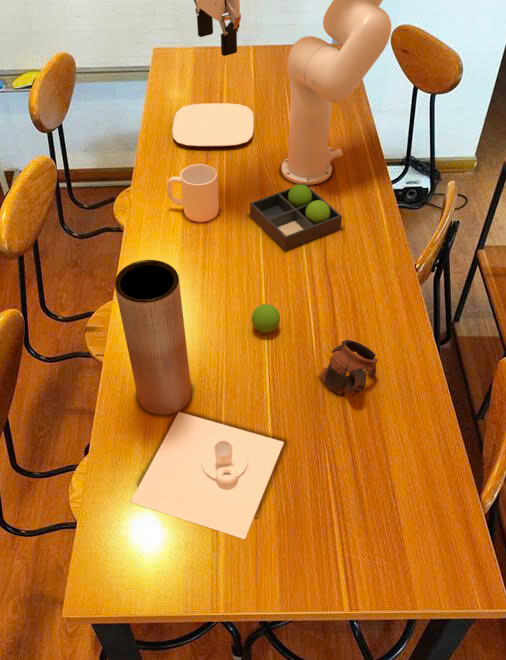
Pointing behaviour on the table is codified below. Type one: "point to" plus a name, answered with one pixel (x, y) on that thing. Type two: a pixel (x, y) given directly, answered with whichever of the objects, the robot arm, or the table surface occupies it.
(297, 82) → the robot arm
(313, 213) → the lime back right
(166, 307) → the vase
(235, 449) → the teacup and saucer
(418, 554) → the table surface
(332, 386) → the pottery mug
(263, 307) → the lime
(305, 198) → the lime back left
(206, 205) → the cup
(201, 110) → the plate
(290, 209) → the rack
